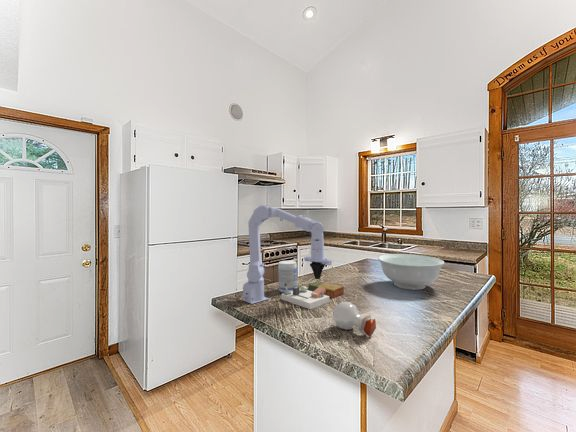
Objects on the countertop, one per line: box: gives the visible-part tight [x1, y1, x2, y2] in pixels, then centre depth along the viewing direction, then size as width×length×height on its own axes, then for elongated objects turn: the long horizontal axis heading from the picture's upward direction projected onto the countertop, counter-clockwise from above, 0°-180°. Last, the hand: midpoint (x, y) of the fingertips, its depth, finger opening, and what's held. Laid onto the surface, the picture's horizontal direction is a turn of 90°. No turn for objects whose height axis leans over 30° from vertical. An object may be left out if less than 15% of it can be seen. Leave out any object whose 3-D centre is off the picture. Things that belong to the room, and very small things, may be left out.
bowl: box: [377, 253, 445, 291], centre depth 153 cm, size 32×32×15 cm
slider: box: [293, 286, 300, 295], centre depth 132 cm, size 2×2×3 cm
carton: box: [307, 281, 345, 299], centre depth 142 cm, size 8×16×4 cm, turn 46°
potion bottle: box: [332, 301, 377, 338], centre depth 99 cm, size 9×10×15 cm
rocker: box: [311, 287, 326, 298], centre depth 130 cm, size 6×4×2 cm, turn 133°
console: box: [281, 289, 331, 310], centre depth 131 cm, size 13×18×4 cm
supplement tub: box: [277, 260, 298, 293], centre depth 147 cm, size 10×10×15 cm
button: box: [299, 285, 307, 292], centre depth 136 cm, size 3×3×2 cm
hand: (317, 278), depth 129 cm, fingers closed
